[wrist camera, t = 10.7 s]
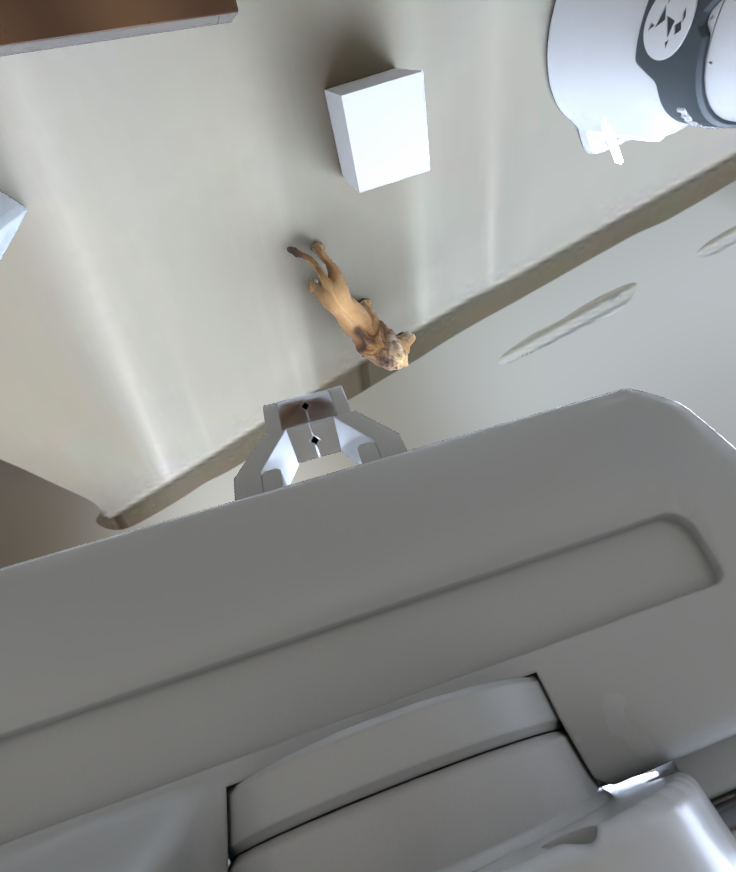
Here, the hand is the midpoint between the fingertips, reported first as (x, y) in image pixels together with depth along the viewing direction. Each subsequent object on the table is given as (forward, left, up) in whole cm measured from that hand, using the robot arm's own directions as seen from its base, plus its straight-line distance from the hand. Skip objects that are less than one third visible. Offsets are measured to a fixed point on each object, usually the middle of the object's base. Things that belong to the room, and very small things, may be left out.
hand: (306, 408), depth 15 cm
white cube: (-11, -4, -29) cm, 32 cm away
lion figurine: (-7, +10, -29) cm, 32 cm away
